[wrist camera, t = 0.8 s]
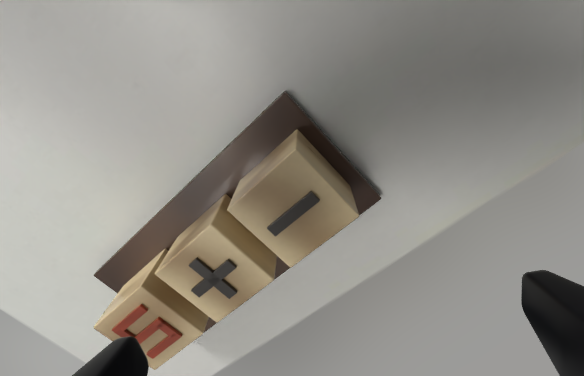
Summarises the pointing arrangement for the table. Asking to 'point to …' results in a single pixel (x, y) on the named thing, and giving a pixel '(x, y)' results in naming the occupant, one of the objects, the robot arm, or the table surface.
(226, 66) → the table surface
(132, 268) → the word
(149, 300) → the letter s tile
